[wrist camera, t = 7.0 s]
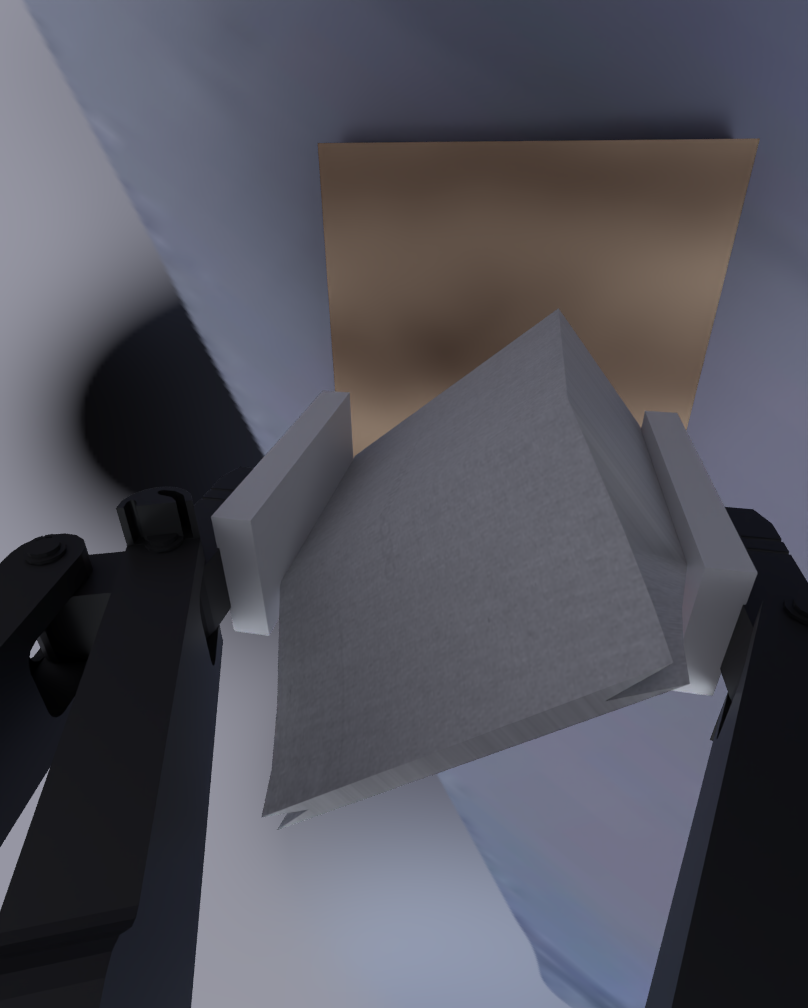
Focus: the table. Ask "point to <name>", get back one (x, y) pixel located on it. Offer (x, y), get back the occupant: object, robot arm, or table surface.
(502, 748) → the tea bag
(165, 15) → the table surface
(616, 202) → the pedestal
